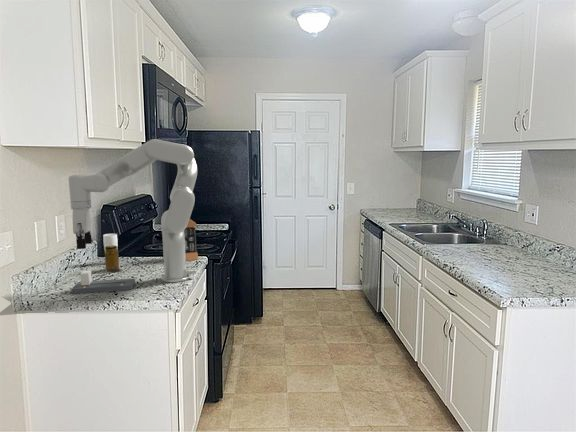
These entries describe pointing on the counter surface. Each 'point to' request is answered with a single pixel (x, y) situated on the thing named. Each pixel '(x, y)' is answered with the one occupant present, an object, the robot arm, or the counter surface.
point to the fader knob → (86, 278)
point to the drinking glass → (110, 240)
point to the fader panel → (104, 286)
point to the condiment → (112, 259)
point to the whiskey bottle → (190, 241)
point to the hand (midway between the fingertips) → (84, 246)
